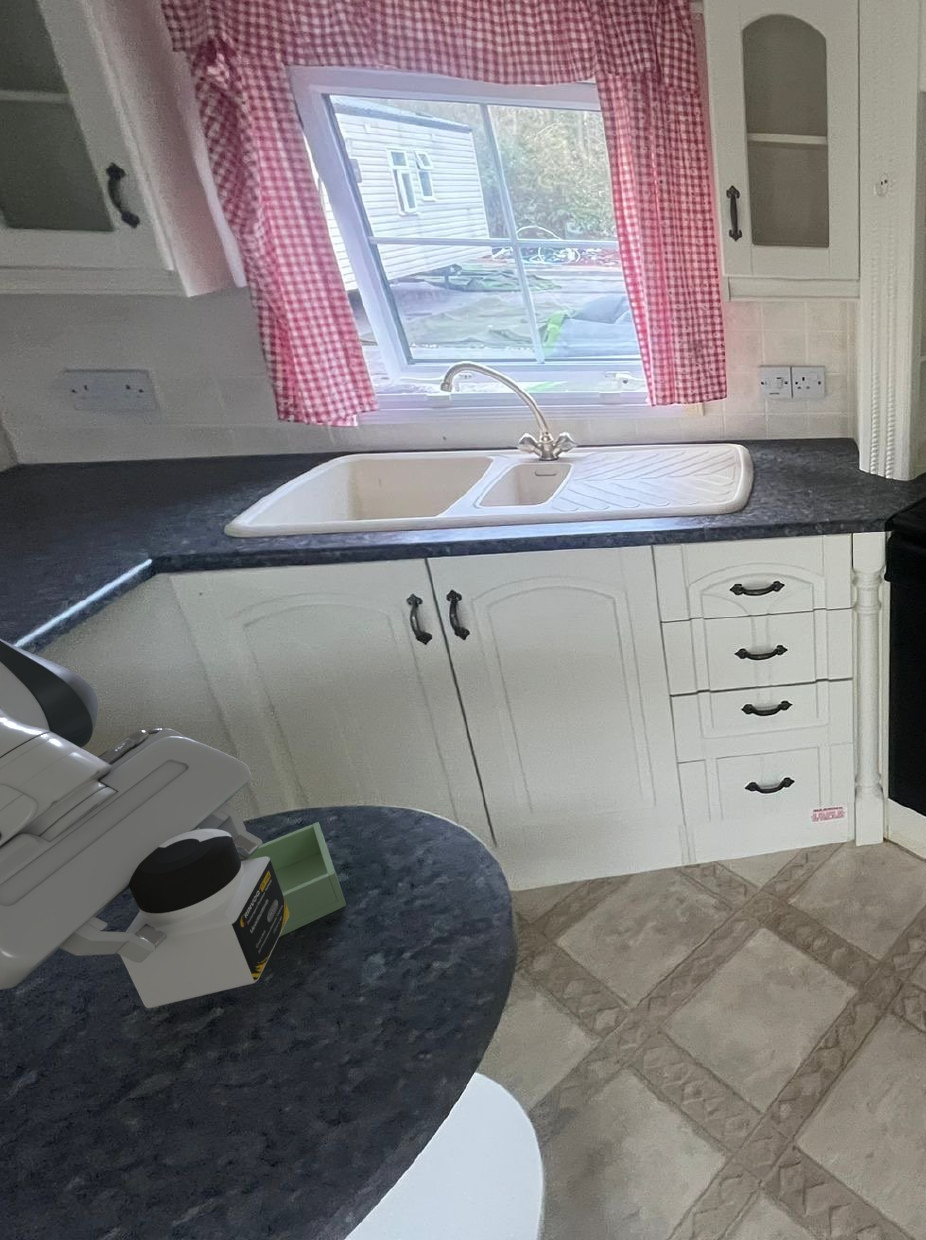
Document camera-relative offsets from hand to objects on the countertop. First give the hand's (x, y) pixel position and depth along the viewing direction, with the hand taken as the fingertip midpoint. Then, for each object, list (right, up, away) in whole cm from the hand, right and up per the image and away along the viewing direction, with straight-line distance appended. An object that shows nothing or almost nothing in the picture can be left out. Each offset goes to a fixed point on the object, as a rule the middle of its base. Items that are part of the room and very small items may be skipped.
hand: (206, 898), depth 63 cm
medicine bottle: (-1, -7, +3) cm, 7 cm away
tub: (-17, -13, +26) cm, 34 cm away
